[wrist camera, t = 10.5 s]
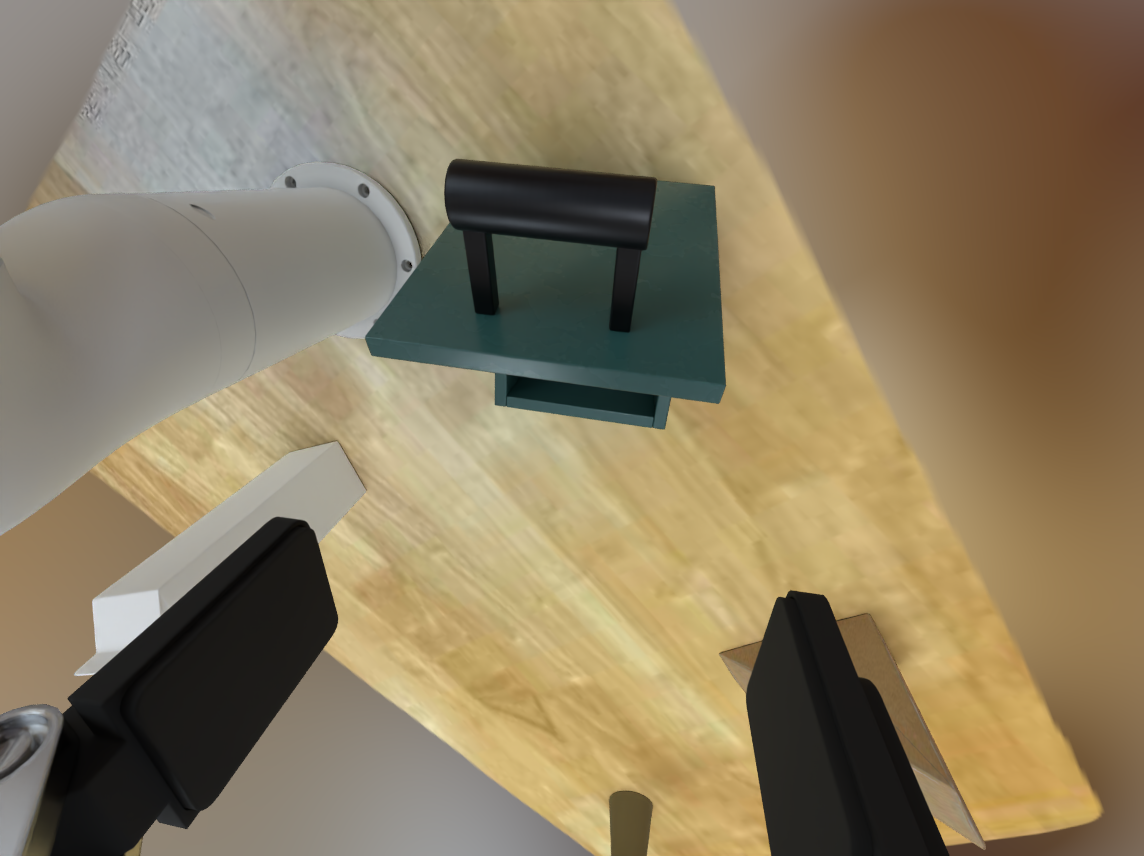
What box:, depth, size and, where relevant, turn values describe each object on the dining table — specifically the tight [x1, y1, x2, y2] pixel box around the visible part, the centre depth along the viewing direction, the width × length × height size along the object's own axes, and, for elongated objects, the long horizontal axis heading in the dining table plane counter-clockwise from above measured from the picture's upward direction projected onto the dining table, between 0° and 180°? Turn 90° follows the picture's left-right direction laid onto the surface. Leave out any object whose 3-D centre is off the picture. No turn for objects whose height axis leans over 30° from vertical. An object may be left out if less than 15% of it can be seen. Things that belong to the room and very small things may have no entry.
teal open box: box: [495, 373, 671, 429], centre depth 31 cm, size 14×11×8 cm
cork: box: [609, 791, 653, 856], centre depth 62 cm, size 6×6×11 cm
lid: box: [365, 159, 726, 404], centre depth 18 cm, size 14×11×5 cm
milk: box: [74, 441, 366, 676], centre depth 38 cm, size 6×6×22 cm
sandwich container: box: [719, 614, 986, 850], centre depth 43 cm, size 9×15×15 cm, turn 124°
